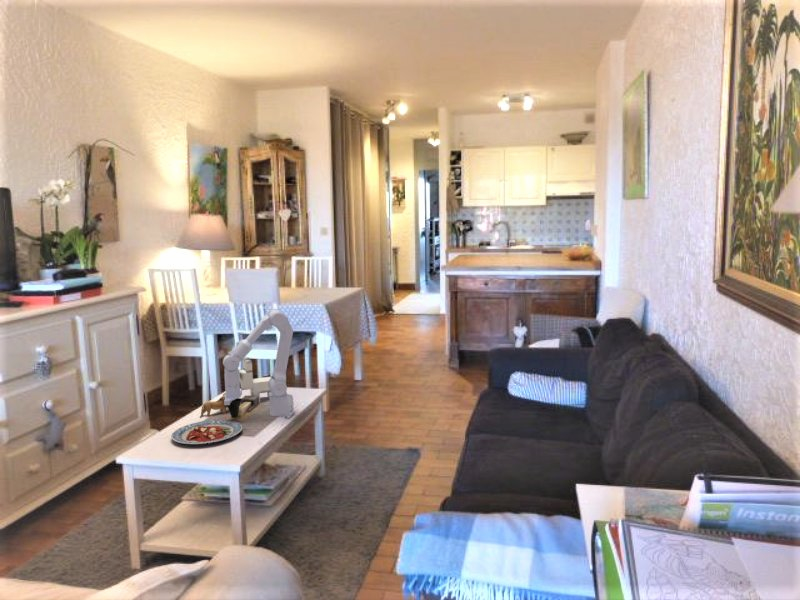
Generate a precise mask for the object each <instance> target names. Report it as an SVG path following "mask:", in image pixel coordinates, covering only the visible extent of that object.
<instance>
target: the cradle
mask: <svg viewBox="0 0 800 600" xmlns="http://www.w3.org/2000/svg"><path fill="white" fill-rule="evenodd" d="M241 399H242V401H241V403H240V405H242V404H243V403H244V402H251V404H252V407H251V408H250V409H248V411H247V412H246V413H245V414H244V415H243V416H238V417H237V418H232V417H231V414H229V415H228V416H226V417H225V418H224V419H223V420H229V421H235V422H237V421H239V422H240V421H242V422H244V421H246V420H247V419H248V418H249V417H250V416H252V415H253V413H254V412H256V411H257V410H258V409H259V408H260V407H261V406H262V405H263V403H259V396H251V395H244V396H243V397H242V398H241Z"/></svg>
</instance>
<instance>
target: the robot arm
mask: <svg viewBox="0 0 800 600" xmlns="http://www.w3.org/2000/svg"><path fill="white" fill-rule="evenodd" d="M273 327H275V328H276V329H277V331H278V332H279V333H280V334H279V340H278V345H277V351H276V357H275V362H274V369H273V371H272V373H271V376H272V377H271V376H270V377H271V379H270V380H269V382H268V386H269V388H270V389H271V391H270V393H269V398H268V400H269V414H270V416H271V417H284V418H285V419H290V418H291V417H292V416H293V414H294V413H295V409H294V408H295V407H294V406H295V405H294V397H293V394H291V393H287V390H288V387H287V369H288V368H287V367H288V362H289V356H290V352H291V346H292V340H293V336H294V335H293V334H294V329H293V327H292V325H291V323H290V320H289V317H287V315H286V314H284V312H282V311H281V310H279V309H277V308H272V309H270V310H269V311H268V312H267V314H265V315H264V316H263V317H262V318H261V320H259V322H258V323H257V324H256V326H255V327H253V329H252V330H251V332H250V333H249V335H247V337H246V338H245V339H240V340H239V341H238V340H237V341H236V343H235V347H233V349H231V351H228V352H227V353H228V354H227V355H225V356H224V357H223V360H222V365H223V366H224V369H223V370H224V375H223V376H224V377H223V378H224V389H225V393H226V394H225V395H223V394H222V396H223V397H225V400H224V405H227V408H228V411H229V413H230V414H231V417H232V418H237V417H238V412H239V406H240V405H241V401H242V398H241V397H242V396H243V390H241V389H240V380H239V372H238V370H239V367H240V362H243V359H244V358H247V355H249V353H250V352H251V351H252V350H253V344H254V343H255V342H256V341H257V340H258V338H260V336H261V335H262V334H263V333H264V332H265V331H266V330H272V329H273ZM230 414H229V415H230Z"/></svg>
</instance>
